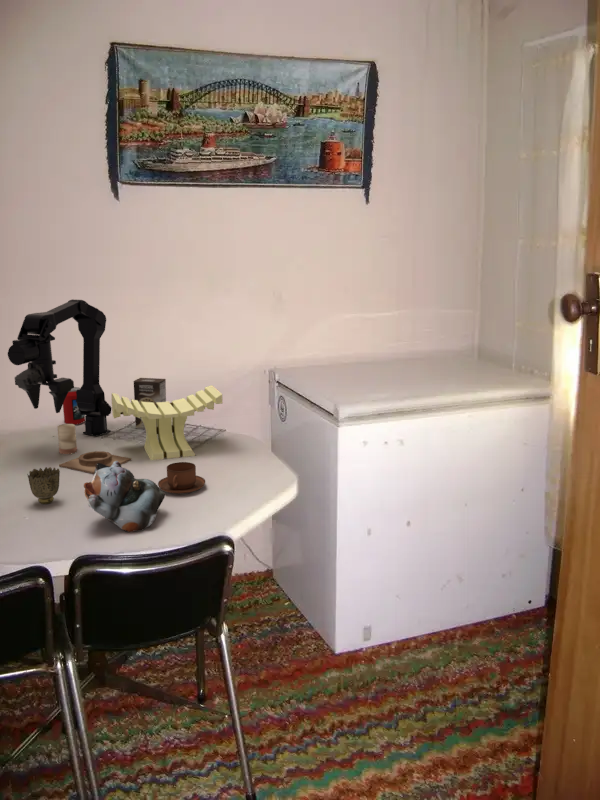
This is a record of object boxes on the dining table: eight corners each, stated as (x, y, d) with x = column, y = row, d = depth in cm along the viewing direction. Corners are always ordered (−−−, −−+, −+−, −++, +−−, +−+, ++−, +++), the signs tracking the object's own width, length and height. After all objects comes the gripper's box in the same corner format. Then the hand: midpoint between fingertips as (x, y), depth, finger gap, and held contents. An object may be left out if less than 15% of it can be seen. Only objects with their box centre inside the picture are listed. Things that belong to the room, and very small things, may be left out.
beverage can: (81, 426, 250) (79, 391, 248) (61, 426, 251) (58, 391, 248) (87, 420, 257) (85, 386, 254) (68, 420, 257) (65, 386, 254)
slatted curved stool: (211, 438, 237) (209, 383, 233) (223, 452, 222) (222, 394, 218) (114, 447, 227) (110, 390, 223) (120, 463, 212) (117, 402, 208)
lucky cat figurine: (146, 536, 164) (106, 481, 158) (100, 549, 170) (61, 497, 164) (175, 490, 178) (140, 438, 172) (132, 504, 183) (97, 454, 178)
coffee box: (135, 428, 247) (132, 381, 243) (142, 423, 253) (139, 377, 249) (161, 430, 246) (159, 382, 242) (168, 424, 252) (165, 377, 248)
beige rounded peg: (68, 448, 226) (66, 422, 224) (80, 450, 224) (78, 425, 222) (55, 452, 222) (53, 427, 220) (68, 455, 220) (65, 429, 218)
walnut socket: (95, 453, 222) (94, 446, 221) (131, 460, 215) (130, 453, 214) (59, 466, 210) (58, 459, 209) (96, 474, 203) (95, 467, 203)
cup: (37, 496, 187) (34, 466, 185) (66, 497, 187) (63, 466, 185) (25, 508, 180) (22, 476, 178) (55, 508, 180) (53, 476, 178)
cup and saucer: (206, 496, 188) (205, 472, 187) (157, 499, 186) (156, 475, 185) (204, 480, 200) (203, 458, 198) (158, 482, 198) (157, 460, 196)
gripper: (-4, 360, 212) (2, 413, 216) (41, 366, 203) (47, 422, 207) (28, 353, 221) (33, 404, 225) (72, 359, 212) (77, 412, 216)
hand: (46, 410), depth 218 cm, fingers open, 9 cm apart
